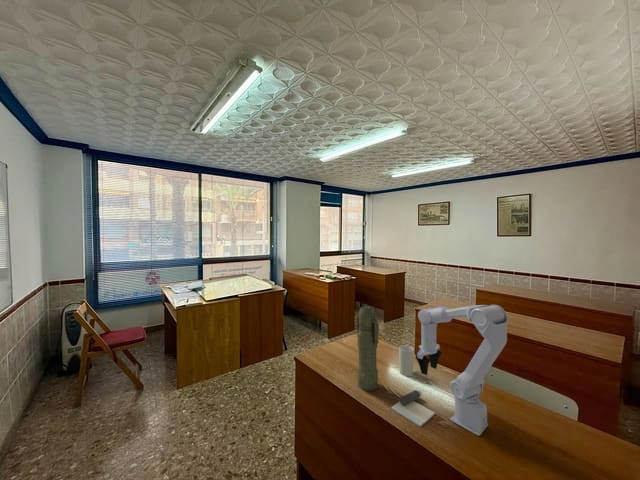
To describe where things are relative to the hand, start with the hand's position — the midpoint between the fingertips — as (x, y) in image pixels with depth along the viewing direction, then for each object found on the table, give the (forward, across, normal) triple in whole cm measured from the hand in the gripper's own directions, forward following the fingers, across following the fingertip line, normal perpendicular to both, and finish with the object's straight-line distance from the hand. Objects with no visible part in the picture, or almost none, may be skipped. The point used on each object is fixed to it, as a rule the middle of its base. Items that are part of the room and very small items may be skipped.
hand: (428, 370), depth 104 cm
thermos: (+11, +14, -21) cm, 27 cm away
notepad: (+10, +14, +1) cm, 17 cm away
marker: (+8, +14, -3) cm, 17 cm away
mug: (+11, -10, -16) cm, 22 cm away
